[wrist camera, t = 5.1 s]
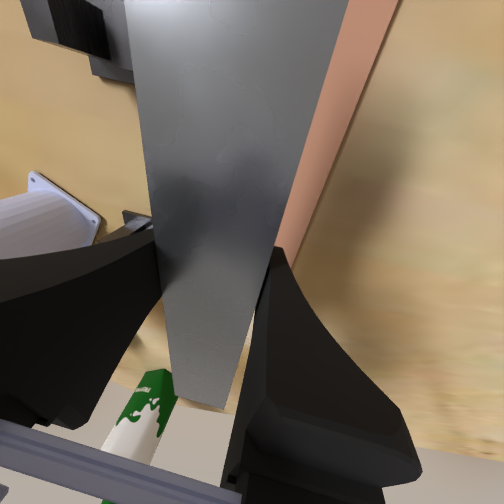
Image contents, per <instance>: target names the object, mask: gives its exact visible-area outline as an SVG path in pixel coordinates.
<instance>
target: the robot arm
mask: <svg viewBox="0 0 504 504" xmlns="http://www.w3.org/2000/svg"><path fill="white" fill-rule="evenodd" d="M100 222H101V218H100V216H99V215H97V214H96V213H94V212H93V211H92V210H90V209H89V208H87V207H86V206H84V205H83V204H82V203H80V202H79V201H77V200H76V199H74V198H73V197H72V196H70V195H69V194H67V193H66V192H64V191H63V190H62V189H60V188H59V187H57V186H56V185H55V184H53V183H52V182H50V181H49V180H47V179H46V178H45V177H43V176H42V175H40V174H39V173H37V172H36V171H31V172H29V180H28V192H27V193H24V194H20V195H16V196H12V197H9V198H5V199H1V200H0V466H1V467H4V468H7V469H11V470H13V471H16V472H20V473H23V474H26V475H29V476H32V477H35V478H38V479H41V480H44V481H47V482H51V483H54V484H57V485H60V486H63V487H66V488H69V489H72V490H75V491H79V492H82V493H85V494H88V495H91V496H94V497H97V498H100V499H103V500H106V501H109V502H113V503H116V504H385V499H384V495H383V491H382V488H383V487H388V486H394V485H400V484H405V483H409V482H413V481H416V480H417V479H418V478H419V477H420V476H421V474H422V472H423V471H422V468H421V464H420V461H419V458H418V455H417V453H416V450H415V447H414V444H413V441H412V439H411V436H410V433H409V430H408V428H407V426H406V423H405V421H404V418H403V416H402V413H401V411H400V409H399V408H398V407H397V406H396V405H395V404H394V403H393V402H392V401H391V400H390V399H389V398H388V397H387V396H386V395H385V394H384V393H383V392H382V391H381V390H380V389H379V388H378V387H377V385H376V384H375V383H374V382H373V381H372V380H371V379H370V378H369V377H368V376H367V375H366V374H365V373H364V372H363V371H362V370H361V369H360V368H359V367H358V366H357V365H356V364H355V362H354V361H353V360H352V359H351V358H350V357H349V356H348V355H347V353H346V352H345V351H344V350H343V349H342V348H341V347H340V345H339V344H338V343H337V342H336V341H335V339H334V338H333V337H332V336H331V334H330V333H329V332H328V330H327V329H326V328H325V327H324V325H323V324H322V323H321V321H320V320H319V319H318V317H317V316H316V314H315V313H314V311H313V310H312V308H311V307H310V305H309V304H308V302H307V300H306V299H305V297H304V295H303V293H302V291H301V289H300V288H299V286H298V284H297V282H296V280H295V277H294V275H293V273H292V271H291V268H290V266H289V263H288V261H287V258H286V255H285V252H284V249H283V248H282V247H278V246H274V248H273V251H272V254H271V257H270V261H269V264H268V267H267V270H266V274H265V277H264V280H263V284H262V287H261V290H260V293H259V297H258V300H257V303H256V306H255V315H254V323H253V332H252V339H251V345H250V350H249V355H248V360H247V364H246V369H245V374H244V378H243V383H242V388H241V392H240V397H239V401H238V406H237V411H236V415H235V420H234V425H233V429H232V433H231V438H230V442H229V447H228V451H227V455H226V460H225V465H224V469H223V474H222V479H221V484H220V487H217V486H214V485H211V484H207V483H204V482H201V481H198V480H195V479H191V478H188V477H185V476H182V475H178V474H175V473H172V472H169V471H166V470H163V469H159V468H156V467H153V466H150V465H147V464H143V463H140V462H137V461H134V460H131V459H127V458H124V457H121V456H118V455H115V454H111V453H108V452H105V451H102V450H98V449H95V448H92V447H89V446H86V445H83V444H79V443H76V442H73V441H70V440H66V439H63V438H60V437H57V436H54V435H50V434H47V433H44V432H41V431H38V430H34V429H31V428H32V427H33V426H34V424H35V423H36V424H40V425H43V426H46V427H48V426H49V425H50V424H55V425H58V426H61V427H64V428H68V429H71V430H75V429H77V428H79V427H81V426H83V425H84V424H85V423H87V422H88V421H89V419H90V416H91V414H92V412H93V410H94V408H95V407H96V404H97V403H98V401H99V399H100V397H101V395H102V393H103V391H104V389H105V387H106V385H107V383H108V382H109V380H110V378H111V376H112V374H113V373H114V371H115V369H116V367H117V365H118V364H119V362H120V360H121V358H122V356H123V355H124V353H125V351H126V350H127V348H128V346H129V344H130V343H131V341H132V339H133V338H134V336H135V334H136V333H137V331H138V329H139V328H140V326H141V325H142V323H143V321H144V320H145V318H146V317H147V315H148V314H149V312H150V311H151V310H152V308H153V307H154V305H155V304H156V303H157V302H158V300H159V299H160V298H161V297H162V291H161V284H160V276H159V268H158V260H157V253H156V245H155V237H154V229H153V228H150V229H147V230H144V231H141V232H138V233H135V234H132V235H128V236H125V237H121V238H118V239H115V240H111V241H107V242H103V243H99V244H95V245H92V243H93V241H94V238H95V235H96V233H97V230H98V227H99V225H100ZM8 490H9V487H7V486H5V485H2V484H0V502H1V501H2V500H3V498H4V497H5V496H6V495H7V493H8Z"/></svg>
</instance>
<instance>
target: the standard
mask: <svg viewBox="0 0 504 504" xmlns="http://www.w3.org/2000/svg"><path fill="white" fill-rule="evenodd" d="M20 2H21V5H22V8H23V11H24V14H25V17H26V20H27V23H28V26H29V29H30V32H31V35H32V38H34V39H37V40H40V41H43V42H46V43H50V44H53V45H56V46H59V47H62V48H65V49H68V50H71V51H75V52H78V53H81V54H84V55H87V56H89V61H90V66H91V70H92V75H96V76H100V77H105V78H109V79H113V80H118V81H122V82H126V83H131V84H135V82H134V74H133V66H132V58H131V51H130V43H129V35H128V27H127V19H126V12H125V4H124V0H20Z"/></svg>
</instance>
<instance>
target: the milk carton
mask: <svg viewBox="0 0 504 504" xmlns="http://www.w3.org/2000/svg"><path fill="white" fill-rule="evenodd" d="M178 397H179V396H176V395H175V393H174V385H173V377H172V374H171V373H169V372H168V371H167V370H165V369H160V370H155V371H149V372H146V373H145V375H144V376H143V378H142V380H141V381H140V383H139V385H138V386H137V388H136V390H135V392H134V393H133V395H132V397H131V398H130V400H129V402H128V404H127V405H126V407H125V409H124V410H123V412H122V414H121V415H120V417H119V419H118V421H117V422H116V424H115V426H114V427H113V429H112V431H111V433H110V434H109V436H108V438H107V439H106V441H105V443H104V444H103V446H102V448H101V449H100V450H102V451H105V452H108V453H111V454H115V455H118V456H121V457H124V458H127V459H131V460H134V461H137V462H140V463H143V464H147V465H150V462H151V460H152V458H153V455H154V453H155V450H156V448H157V446H158V443H159V441H160V438H161V436H162V434H163V431H164V429H165V427H166V424H167V422H168V419H169V417H170V415H171V412H172V410H173V408H174V406H175V404H176V401H177V399H178ZM101 504H116V503H113V502H109V501H106V500H103V501H102V503H101Z"/></svg>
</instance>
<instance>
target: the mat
mask: <svg viewBox="0 0 504 504" xmlns="http://www.w3.org/2000/svg"><path fill="white" fill-rule="evenodd" d="M397 2H398V0H349V2H348V6H347V9H346V12H345V15H344V19H343V22H342V25H341V28H340V32H339V35H338V38H337V42H336V45H335V48H334V51H333V55H332V58H331V61H330V64H329V68H328V71H327V74H326V78H325V81H324V84H323V87H322V91H321V94H320V97H319V100H318V104H317V107H316V110H315V113H314V117H313V120H312V123H311V127H310V130H309V133H308V136H307V140H306V143H305V146H304V149H303V153H302V156H301V159H300V163H299V166H298V169H297V172H296V176H295V179H294V182H293V185H292V189H291V192H290V195H289V199H288V202H287V205H286V208H285V212H284V215H283V218H282V221H281V225H280V228H279V231H278V234H277V238H276V241H275V244H274V246H278V247H282V248H283V249H284V252H285V255H286V258H287V261H288V263H289V266H290V268H291V267H292V264H293V262H294V259H295V257H296V254H297V252H298V249H299V247H300V244H301V242H302V239H303V237H304V234H305V232H306V229H307V227H308V224H309V222H310V219H311V217H312V214H313V212H314V209H315V207H316V204H317V202H318V199H319V197H320V194H321V192H322V189H323V187H324V184H325V182H326V179H327V177H328V174H329V172H330V169H331V167H332V164H333V162H334V159H335V157H336V154H337V152H338V149H339V147H340V144H341V142H342V139H343V137H344V135H345V132H346V130H347V127H348V125H349V122H350V120H351V117H352V115H353V112H354V110H355V107H356V105H357V102H358V100H359V97H360V95H361V92H362V90H363V87H364V85H365V82H366V80H367V77H368V75H369V72H370V70H371V67H372V65H373V62H374V60H375V57H376V55H377V52H378V50H379V47H380V45H381V42H382V40H383V37H384V35H385V32H386V30H387V27H388V25H389V22H390V20H391V17H392V15H393V12H394V10H395V7H396V5H397Z"/></svg>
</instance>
